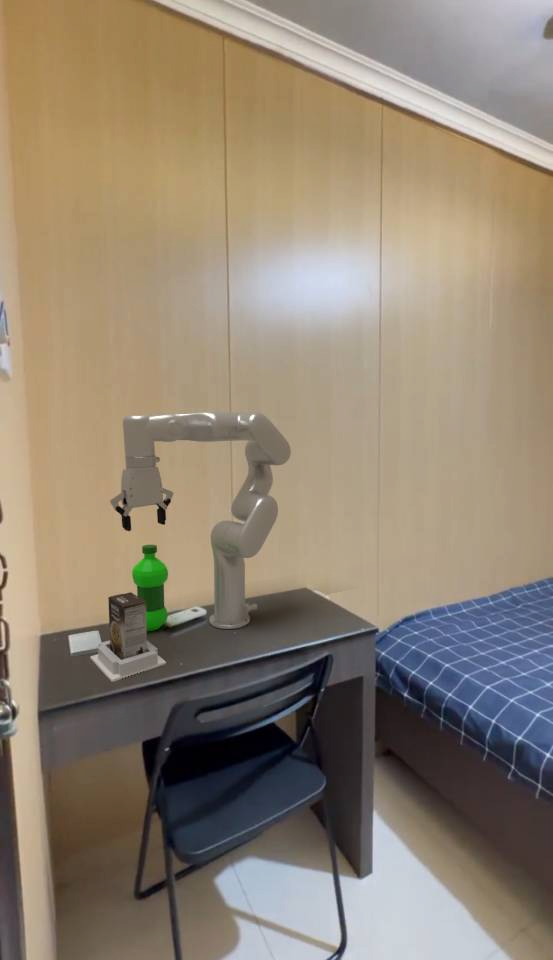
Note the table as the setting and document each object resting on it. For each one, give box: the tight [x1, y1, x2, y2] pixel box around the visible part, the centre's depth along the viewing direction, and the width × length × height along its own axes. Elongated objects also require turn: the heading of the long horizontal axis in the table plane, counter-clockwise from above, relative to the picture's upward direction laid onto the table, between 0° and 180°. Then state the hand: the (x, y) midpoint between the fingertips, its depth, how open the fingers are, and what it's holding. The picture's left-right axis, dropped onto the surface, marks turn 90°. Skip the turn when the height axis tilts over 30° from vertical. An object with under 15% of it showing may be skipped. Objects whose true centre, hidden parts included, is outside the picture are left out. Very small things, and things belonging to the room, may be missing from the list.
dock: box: [89, 639, 167, 683], centre depth 125 cm, size 14×15×4 cm
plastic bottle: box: [131, 544, 169, 632], centre depth 145 cm, size 10×10×25 cm
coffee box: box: [108, 591, 148, 660], centre depth 124 cm, size 9×6×16 cm
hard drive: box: [67, 630, 102, 658], centre depth 135 cm, size 2×8×12 cm
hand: (145, 526), depth 129 cm, fingers open, 9 cm apart
